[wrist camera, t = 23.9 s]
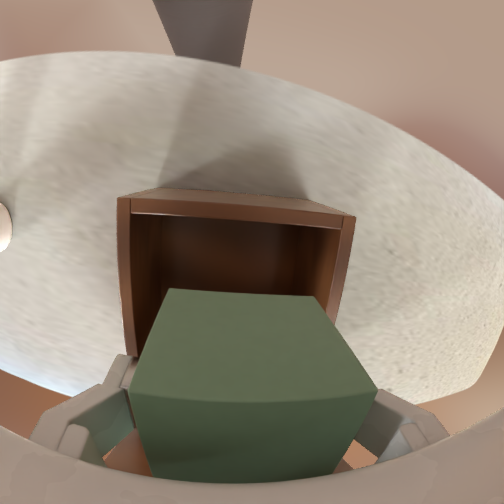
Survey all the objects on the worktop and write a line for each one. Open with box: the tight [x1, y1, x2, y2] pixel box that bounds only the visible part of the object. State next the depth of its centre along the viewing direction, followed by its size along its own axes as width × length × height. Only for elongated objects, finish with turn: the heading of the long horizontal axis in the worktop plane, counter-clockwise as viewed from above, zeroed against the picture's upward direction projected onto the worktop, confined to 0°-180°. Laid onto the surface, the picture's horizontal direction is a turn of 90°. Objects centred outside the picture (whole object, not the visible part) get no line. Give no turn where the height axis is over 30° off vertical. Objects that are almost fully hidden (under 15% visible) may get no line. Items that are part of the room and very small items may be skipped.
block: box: [127, 288, 378, 484], centre depth 8 cm, size 5×5×5 cm
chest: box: [117, 188, 356, 357], centre depth 20 cm, size 16×13×9 cm
